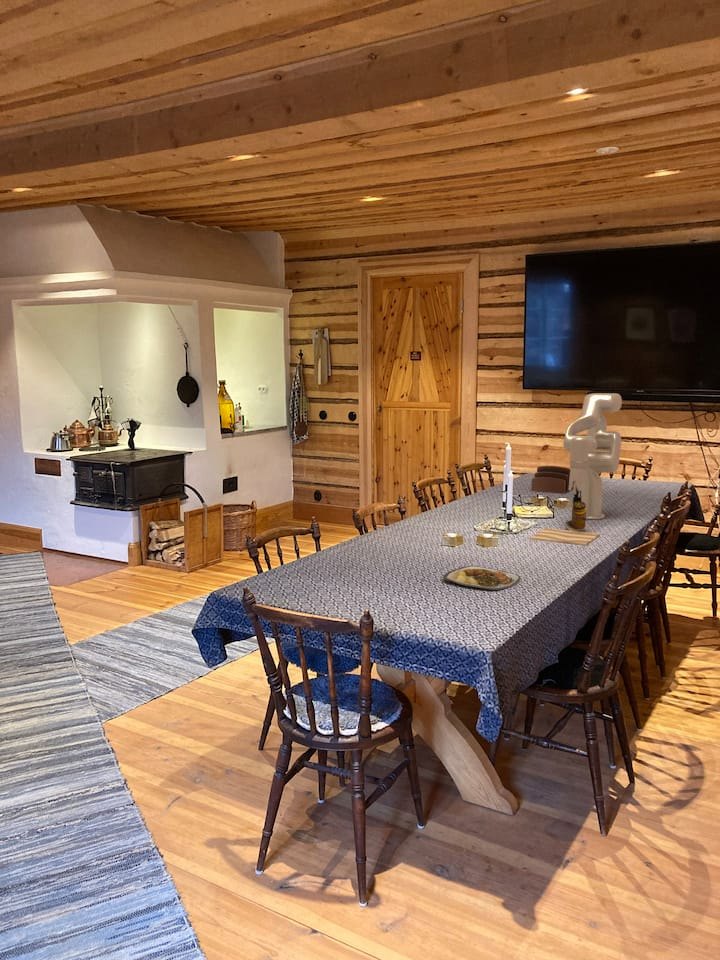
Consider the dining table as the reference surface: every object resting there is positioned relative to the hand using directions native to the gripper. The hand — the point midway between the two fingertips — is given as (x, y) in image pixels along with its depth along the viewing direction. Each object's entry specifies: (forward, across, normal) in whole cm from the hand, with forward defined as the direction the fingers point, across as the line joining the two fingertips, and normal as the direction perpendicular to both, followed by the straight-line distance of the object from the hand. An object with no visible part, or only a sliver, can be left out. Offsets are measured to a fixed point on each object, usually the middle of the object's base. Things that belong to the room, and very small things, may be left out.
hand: (577, 506), depth 343 cm
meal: (+15, +89, -6) cm, 91 cm away
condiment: (+9, 0, 0) cm, 9 cm away
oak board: (+11, +15, 0) cm, 19 cm away
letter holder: (+8, -90, -42) cm, 100 cm away
